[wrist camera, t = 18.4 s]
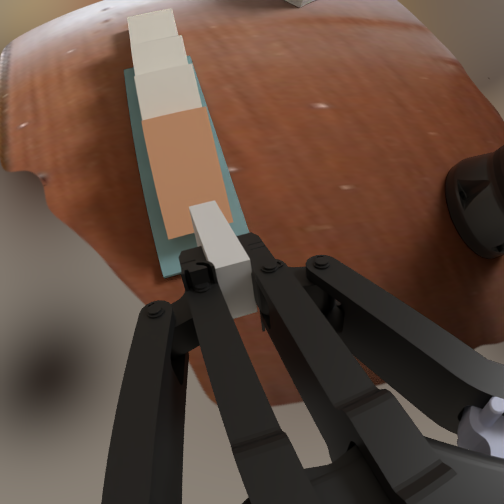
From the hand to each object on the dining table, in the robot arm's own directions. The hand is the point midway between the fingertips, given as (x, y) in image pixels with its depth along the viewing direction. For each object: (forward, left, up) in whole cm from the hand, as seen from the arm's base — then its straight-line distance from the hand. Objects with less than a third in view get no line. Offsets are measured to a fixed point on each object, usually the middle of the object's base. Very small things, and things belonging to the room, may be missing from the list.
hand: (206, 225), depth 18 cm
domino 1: (+21, -10, -11) cm, 26 cm away
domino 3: (+8, -5, -11) cm, 15 cm away
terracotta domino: (+3, -2, -11) cm, 12 cm away
